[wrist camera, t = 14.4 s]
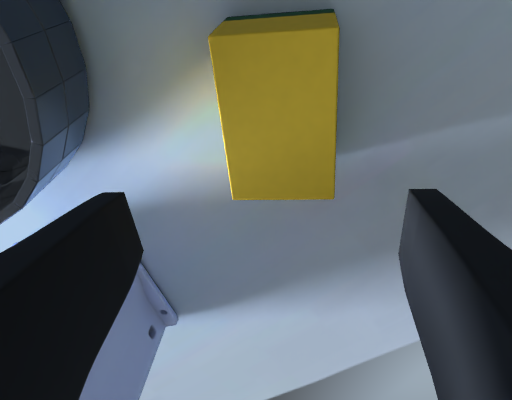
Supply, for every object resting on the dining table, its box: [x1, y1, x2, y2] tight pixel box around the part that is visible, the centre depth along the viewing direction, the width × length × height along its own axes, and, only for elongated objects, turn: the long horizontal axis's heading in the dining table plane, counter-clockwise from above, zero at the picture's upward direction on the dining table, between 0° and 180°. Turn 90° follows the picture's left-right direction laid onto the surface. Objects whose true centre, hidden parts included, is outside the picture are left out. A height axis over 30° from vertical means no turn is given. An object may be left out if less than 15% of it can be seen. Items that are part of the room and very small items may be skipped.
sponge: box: [208, 9, 340, 200], centre depth 16 cm, size 7×4×4 cm, turn 5°
